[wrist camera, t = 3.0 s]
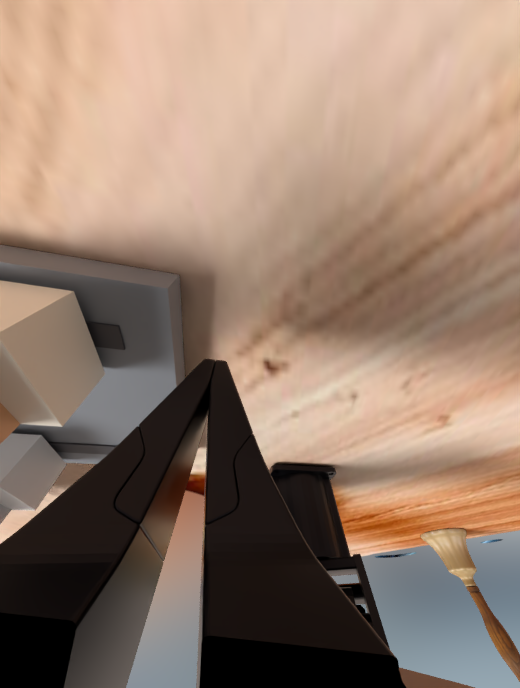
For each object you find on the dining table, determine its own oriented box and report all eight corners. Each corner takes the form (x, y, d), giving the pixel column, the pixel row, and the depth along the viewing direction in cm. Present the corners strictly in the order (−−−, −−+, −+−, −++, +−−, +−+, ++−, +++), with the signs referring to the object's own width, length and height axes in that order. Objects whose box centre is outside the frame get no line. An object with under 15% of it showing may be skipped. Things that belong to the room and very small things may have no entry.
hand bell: (413, 534, 42) (484, 685, 29) (457, 525, 38) (560, 693, 25) (428, 538, 45) (498, 675, 32) (470, 531, 42) (566, 681, 29)
